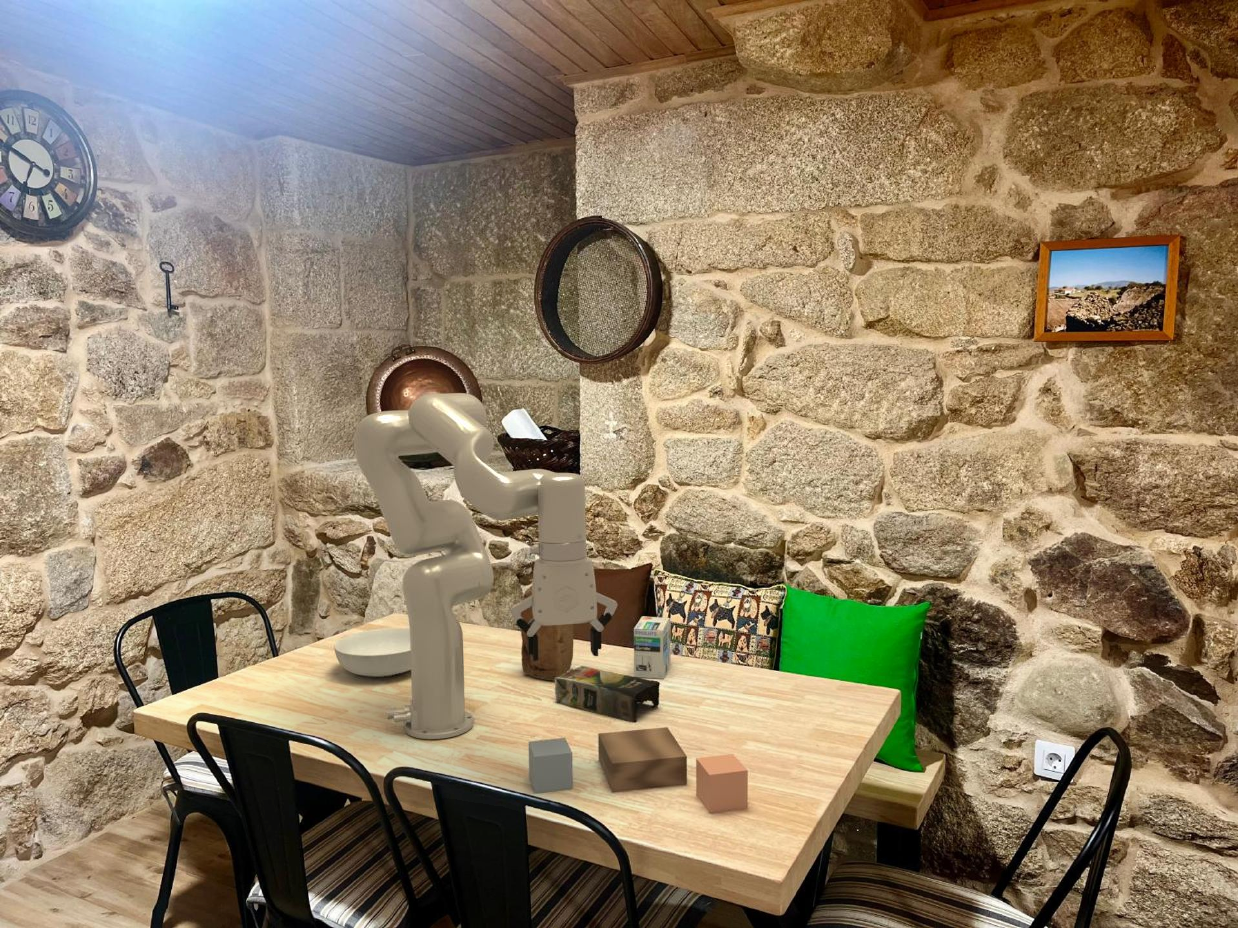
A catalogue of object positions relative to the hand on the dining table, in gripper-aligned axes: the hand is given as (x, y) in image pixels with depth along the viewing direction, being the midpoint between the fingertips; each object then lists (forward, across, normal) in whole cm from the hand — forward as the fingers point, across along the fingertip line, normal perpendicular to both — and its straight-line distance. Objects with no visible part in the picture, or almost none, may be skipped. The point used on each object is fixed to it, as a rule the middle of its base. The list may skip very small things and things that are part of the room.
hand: (564, 656), depth 144 cm
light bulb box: (+20, +26, +47) cm, 57 cm away
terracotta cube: (+20, +21, -14) cm, 33 cm away
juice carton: (+20, +12, +29) cm, 37 cm away
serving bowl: (+19, -32, +60) cm, 71 cm away
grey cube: (+20, -3, -2) cm, 20 cm away
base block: (+20, +12, -2) cm, 23 cm away
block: (+20, +3, +49) cm, 53 cm away
